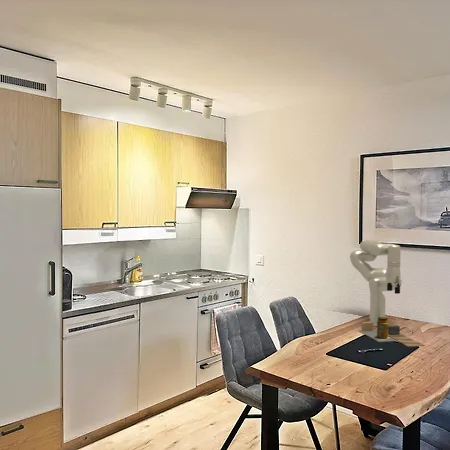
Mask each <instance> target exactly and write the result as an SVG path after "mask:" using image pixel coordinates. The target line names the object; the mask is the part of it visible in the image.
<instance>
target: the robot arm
mask: <svg viewBox="0 0 450 450" xmlns="http://www.w3.org/2000/svg"><path fill="white" fill-rule="evenodd" d="M359 248H360V249H356V250H353V251H351V253H350V255H349V259H350V262H351V265H352V266H353V267H354V268H355V270H357V272H359V273H360V275H361V276H362V277H363V278H364V280H366V282H368V288H369V294H370V295H369V297H370V298H369V301H370V306H369V308H370V309H369V316H368V319H369V320H368V321H367V322H372V323H373V327H377V322H378V317H386V297H385V294H384V292H392V291H394V294H395V295H396V294H401V286H402V283H403V282H402V280H401V249H402V248H401V245H398V244H394V243H382V242H381V241H380V240H378V239H365V240H363V241H361V242H360V244H359ZM379 256H387V264H386V265H387V267H386V268H382V267H380V268H379V267H375V268H374V267H372V266H371V265H370V264H369V262H370V263H371V262H374V261H375V260H376V259H377V257H379Z"/></svg>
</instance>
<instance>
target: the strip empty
mask: <svg viewBox="0 0 450 450" xmlns="http://www.w3.org/2000/svg"><path fill="white" fill-rule="evenodd" d="M400 327H401V326H399V325H388V337H390V338H391V339H393V340H395V341H396V342H397V343H400V344H402V345H404V346H405V347H407V348H414V347H415V348H416V347H425V344H423V343H421V342H419V341H417V340H416V339H413V338H411V337H408V336H407V335H404V334H402V333H400V332H401V331H400V330H401V328H400Z"/></svg>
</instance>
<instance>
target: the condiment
mask: <svg viewBox="0 0 450 450" xmlns="http://www.w3.org/2000/svg"><path fill="white" fill-rule="evenodd" d="M388 323H389V322H388V317H386V316H385V317H378V322H377V326H376V331H377V336H375V337H372V338H375V339H379V340H386V339H389V338H390V337H388V326H389V324H388ZM372 338H371V339H372Z"/></svg>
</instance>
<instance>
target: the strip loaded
mask: <svg viewBox="0 0 450 450" xmlns="http://www.w3.org/2000/svg"><path fill="white" fill-rule="evenodd" d="M358 332H360V333H361V334H363V335H365V336H367V337H369V338H370V339H373V340H374V341H376V342H377V343H388V342H389V343H390V342H395V341H396V340H394V339H392V338H389V339H386V340H379V339H375V338H372V337H375V336H377V330H375V329H374V326H373V323H372V322H368V321H362V322H361V329H358Z"/></svg>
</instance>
